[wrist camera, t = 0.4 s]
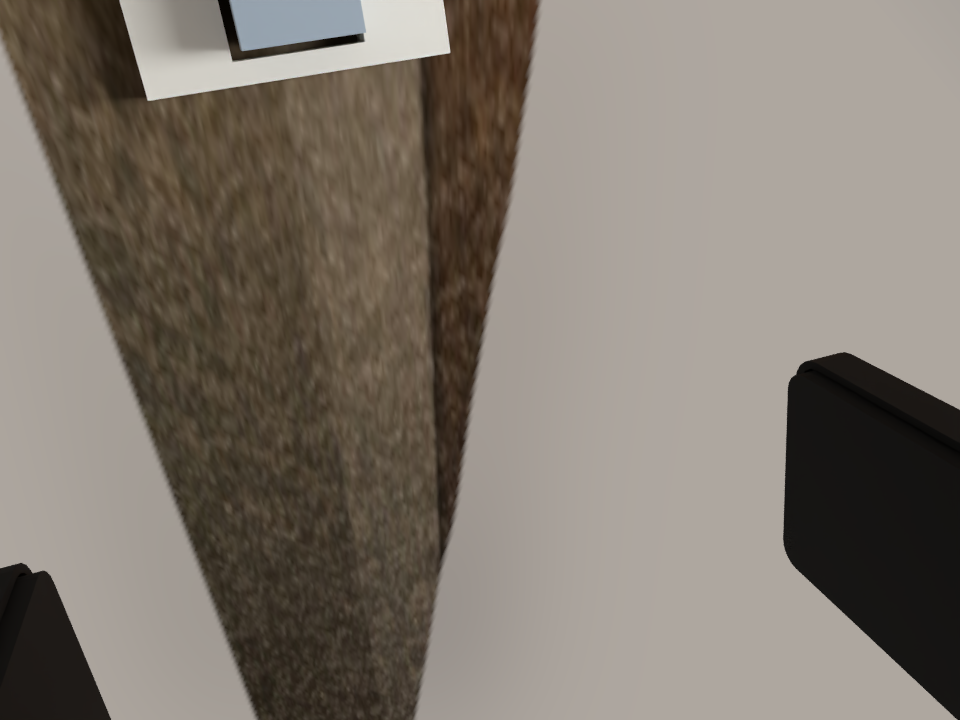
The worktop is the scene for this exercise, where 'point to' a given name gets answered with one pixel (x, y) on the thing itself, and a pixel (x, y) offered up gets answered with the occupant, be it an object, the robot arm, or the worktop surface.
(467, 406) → the worktop surface
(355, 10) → the slate key
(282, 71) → the key console
